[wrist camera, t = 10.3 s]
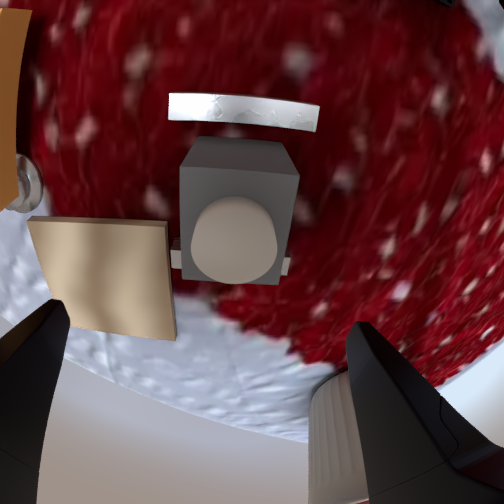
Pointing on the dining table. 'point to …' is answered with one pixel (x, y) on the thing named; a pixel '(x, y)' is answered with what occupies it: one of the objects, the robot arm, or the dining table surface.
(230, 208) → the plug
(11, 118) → the latch
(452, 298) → the dining table surface
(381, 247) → the dining table surface
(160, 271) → the board
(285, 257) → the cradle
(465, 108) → the dining table surface
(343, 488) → the canister
